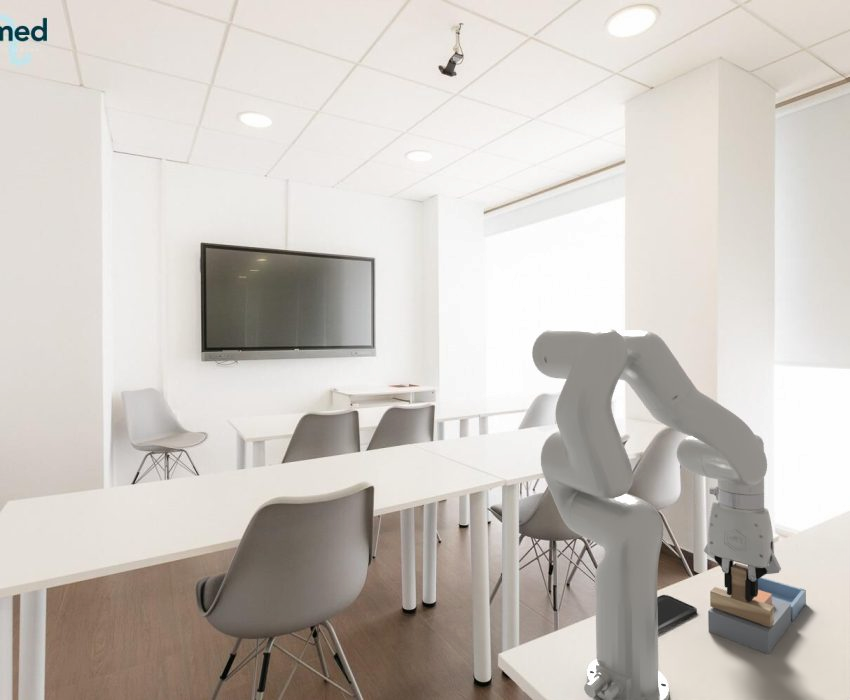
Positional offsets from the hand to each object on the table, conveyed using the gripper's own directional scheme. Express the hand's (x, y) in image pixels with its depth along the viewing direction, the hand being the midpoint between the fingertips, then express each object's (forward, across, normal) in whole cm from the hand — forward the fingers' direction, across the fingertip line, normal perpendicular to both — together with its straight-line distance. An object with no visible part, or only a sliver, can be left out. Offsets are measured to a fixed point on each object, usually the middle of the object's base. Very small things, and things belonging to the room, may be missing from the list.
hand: (741, 594), depth 97 cm
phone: (+9, -14, -3) cm, 17 cm away
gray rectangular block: (+8, 0, +5) cm, 9 cm away
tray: (+8, 0, +18) cm, 19 cm away
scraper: (+4, 0, 0) cm, 4 cm away
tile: (+4, 0, +7) cm, 8 cm away
